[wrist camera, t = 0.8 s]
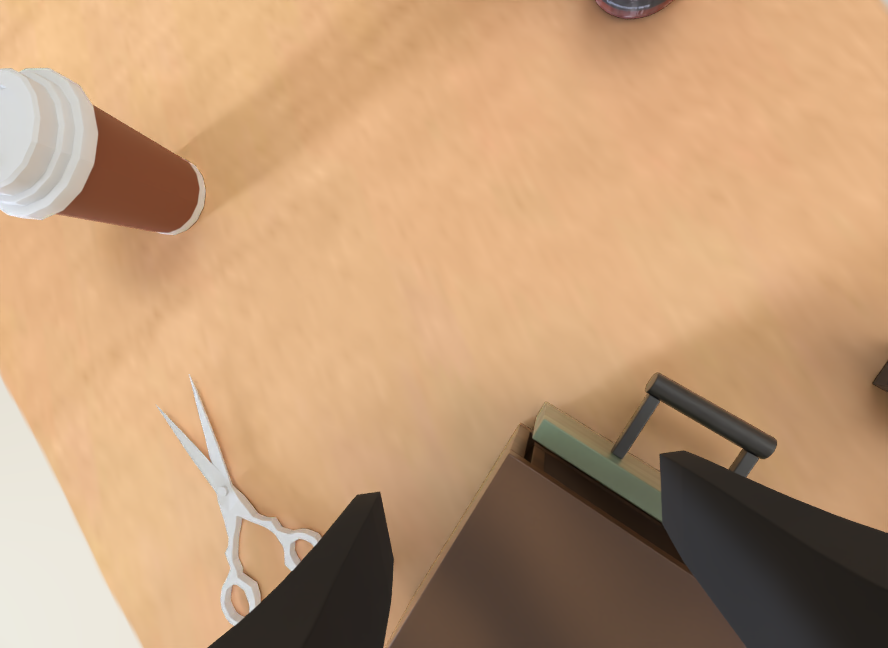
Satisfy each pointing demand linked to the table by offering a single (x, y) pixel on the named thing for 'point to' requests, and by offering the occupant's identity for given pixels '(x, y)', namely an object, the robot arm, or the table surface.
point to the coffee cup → (86, 160)
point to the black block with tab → (882, 379)
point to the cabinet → (554, 575)
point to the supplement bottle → (632, 7)
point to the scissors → (236, 515)
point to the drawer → (627, 470)
